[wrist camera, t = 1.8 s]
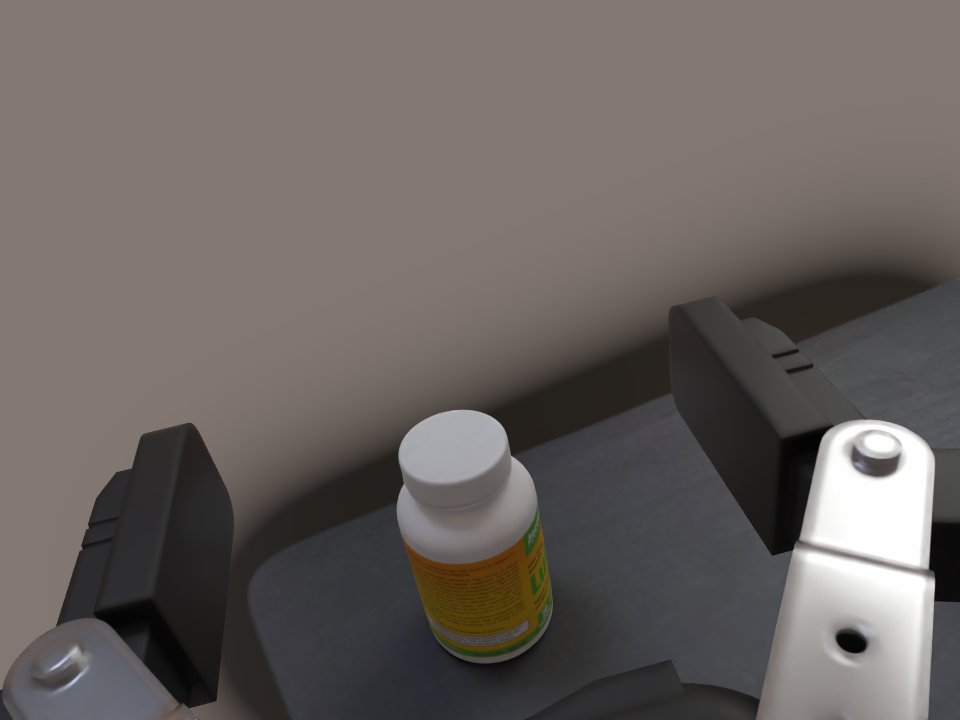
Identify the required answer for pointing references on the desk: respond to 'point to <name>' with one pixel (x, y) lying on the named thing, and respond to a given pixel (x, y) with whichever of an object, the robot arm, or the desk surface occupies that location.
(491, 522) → the supplement bottle
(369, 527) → the desk surface
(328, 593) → the desk surface
